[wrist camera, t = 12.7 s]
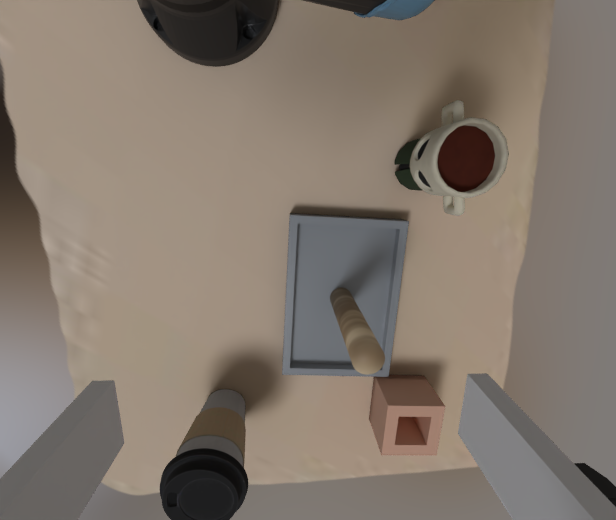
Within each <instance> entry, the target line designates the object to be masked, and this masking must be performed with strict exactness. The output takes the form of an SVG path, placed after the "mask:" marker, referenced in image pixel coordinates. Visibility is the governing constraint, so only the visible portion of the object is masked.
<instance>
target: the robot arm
mask: <svg viewBox="0 0 616 520" xmlns="http://www.w3.org/2000/svg"><path fill="white" fill-rule="evenodd" d="M303 1H308V2H312V3H316V4H321V5H325V6H330V7H334V8H338V9H343V10H347V11H352V12H354V14H355V15H357V16H359V17H362V18H365V17H372V16H376V17H382V18H388V19H393V20H403V19H407V18H411V17H413V16H416V15H418V14H419V13H421V12H422V11H424V10H425V9H426V8H427V7H428V6H429V5H430V4H431V3H432V2H433V1H434V0H303ZM137 2H138V4H139V7H140V9H141V11H142V13H143V15H144V17H145V18H146V20H147V22H148V23H149V25H150V26H151V28H152V29H153V30H154V31H155V33H156V34H157V35H158V36H159V37H160V38H161V39H162V41H163V42H164V43H165V44H166V45H167V46H168V47H169V48H171V49H172V50H173V51H174V52H175V53H177V54H178V55H180V56H181V57H183V58H185V59H187V60H189V61H191V62H194V63H197V64H200V65H205V66H226V65H231V64H234V63H237V62H239V61H241V60H243V59H245V58H247V57H248V56H250V55H251V54H252V53H253V52H255V51H256V50H257V49H258V48H259V47H260V46H261V44H262V43H263V42H264V40H265V39H266V37H267V36H268V34H269V32H270V30H271V28H272V26H273V23H274V20H275V17H276V13H277V7H278V0H137ZM458 434H459V436H460V437H461V439H462V441H463V442H464V444H465V445H466V447H467V449H468V450H469V452H470V453H471V455H472V456H473V458H474V460H475V461H476V463H477V464H478V466H479V467H480V469H481V471H482V472H483V474H484V475H485V477H486V478H487V480H488V482H489V483H490V485H491V486H492V488H493V489H494V491H495V493H496V494H497V496H498V497H499V499H500V500H501V502H502V504H503V505H504V507H505V508H506V510H507V511H508V513H509V514H510V516H511V518H512V519H513V520H616V487H615V486H614V485H613V484H612V483H611V482H610V481H609V480H608V479H607V478H606V477H604V476H603V475H601V474H600V473H598V472H597V471H595V470H594V469H592V468H590V467H589V466H588V465H586V464H585V463H577V464H576V463H575V464H574V463H573V462H572V461H571V460H570V459H569V458H568V457H567V456H566V455H565V454H564V453H563V452H562V451H561V450H560V449H559V448H558V447H557V446H556V445H555V444H554V442H553V441H552V440H550V438H549V437H548V436H547V435H546V434H545V433H544V432H543V431H542V430H541V429H540V428H539V427H538V426H537V425H536V424H535V423H534V422H533V421H532V420H531V419H530V418H529V417H528V416H527V414H526V413H525V412H523V410H522V409H521V408H520V407H519V406H518V405H517V404H516V403H515V402H514V401H513V400H512V399H511V398H510V397H509V396H508V395H507V394H506V393H505V392H504V391H503V390H502V389H501V388H500V386H499V385H498V384H497V383H496V382H495V381H494V380H493V379H492V378H491V377H490V376H489V375H488V374H468V375H467V381H466V387H465V393H464V399H463V406H462V412H461V418H460V424H459V430H458ZM123 444H124V438H123V432H122V425H121V419H120V413H119V407H118V401H117V395H116V388H115V382H114V380H113V381H92V382H91V383H90V384H89V385H88V386H87V387H86V388H85V389H84V390H83V391H82V392H81V393H80V395H79V396H78V397H77V398H76V399H75V400H74V401H73V402H72V403H71V404H70V405H69V406H68V407H67V408H66V410H65V411H64V412H63V413H62V414H61V415H60V416H59V417H58V418H57V419H56V420H55V421H54V422H53V423H52V424H51V425H50V427H49V428H48V429H47V430H46V431H45V432H44V433H43V434H42V435H41V436H40V437H39V438H38V439H37V440H36V442H34V444H33V445H32V446H31V447H30V448H29V449H28V450H27V451H26V452H25V453H24V454H23V455H22V456H21V457H20V458H19V460H18V461H17V462H16V463H15V464H14V465H13V466H12V467H11V468H10V469H9V470H8V471H7V472H6V473H5V474H4V475H3V477H2V478H1V479H0V520H78V518H79V517H80V515H81V513H82V512H83V510H84V508H85V507H86V505H87V503H88V502H89V500H90V499H91V497H92V495H93V494H94V492H95V490H96V488H97V487H98V485H99V484H100V482H101V480H102V479H103V477H104V476H105V474H106V472H107V471H108V469H109V467H110V466H111V464H112V462H113V461H114V459H115V457H116V456H117V454H118V453H119V451H120V449H121V448H122V446H123Z"/></svg>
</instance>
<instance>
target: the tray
mask: <svg viewBox="0 0 616 520" xmlns="http://www.w3.org/2000/svg"><path fill="white" fill-rule="evenodd" d="M408 224H409V221H406V220H403V219H386V218H368V217H350V216H332V215H314V214H296V213H290V221H289V242H288V262H287V283H286V304H285V325H284V346H283V368H282V375H327V376H372V377H389V369H390V362H391V354H392V346H393V339H394V331H395V323H396V316H397V308H398V300H399V293H400V285H401V277H402V270H403V262H404V254H405V247H406V239H407V232H408ZM337 288H346V289H348V290H349V291H350V293H351V294H352V296H353V298H354V300H355V302H356V303H357V305H358V307H359V309H360V311H361V312H362V314H363V316H364V318H365V320H366V321H367V323H368V325H369V327H370V329H371V330H372V332H373V334H374V336H375V338H376V339H377V341H378V343H379V345H380V347H381V348H382V350H383V352H384V354H385V362H384V365H383V366H382V368H381V369H380V370H379V371H377V372H376V373H373V374H369V375H366V374H361V373H359V372H357V371H356V370H355V369H354V367H353V365H352V362H351V359H350V356H349V353H348V350H347V348H346V345H345V342H344V339H343V336H342V333H341V330H340V327H339V325H338V322H337V319H336V316H335V313H334V310H333V307H332V305H331V302H330V295H331V293H332V292H333V291H334V290H335V289H337Z"/></svg>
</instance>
